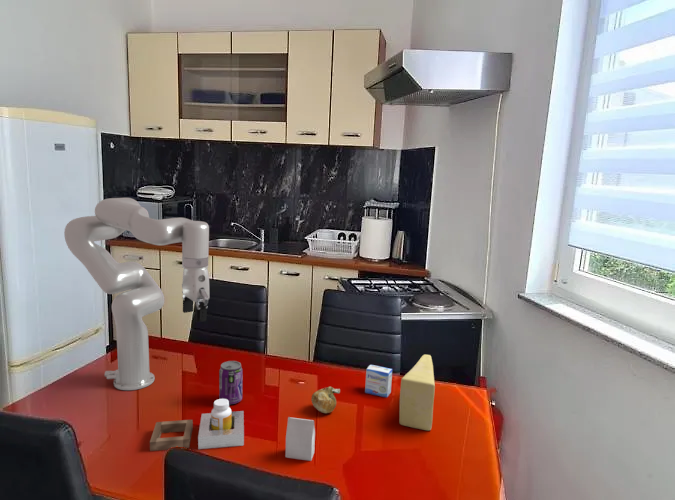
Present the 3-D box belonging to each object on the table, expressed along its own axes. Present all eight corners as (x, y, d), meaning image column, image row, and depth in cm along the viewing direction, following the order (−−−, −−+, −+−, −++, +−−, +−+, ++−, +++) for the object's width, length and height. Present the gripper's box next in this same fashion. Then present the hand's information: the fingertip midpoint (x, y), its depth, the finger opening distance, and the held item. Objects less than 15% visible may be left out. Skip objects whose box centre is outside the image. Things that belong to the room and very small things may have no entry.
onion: (321, 401, 147) (321, 378, 145) (341, 410, 142) (342, 385, 141) (305, 411, 140) (306, 386, 139) (326, 420, 136) (327, 395, 135)
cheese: (410, 392, 155) (413, 350, 153) (440, 397, 152) (443, 355, 150) (397, 425, 135) (400, 377, 132) (431, 432, 132) (434, 383, 129)
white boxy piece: (311, 461, 117) (312, 424, 115) (285, 457, 118) (286, 421, 116) (314, 452, 120) (315, 417, 119) (289, 448, 121) (290, 413, 120)
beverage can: (236, 407, 141) (236, 370, 139) (215, 404, 142) (215, 368, 140) (246, 396, 148) (246, 361, 146) (225, 394, 149) (225, 359, 147)
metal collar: (198, 449, 120) (198, 436, 119) (201, 425, 131) (201, 413, 130) (243, 445, 122) (243, 433, 121) (243, 422, 133) (243, 410, 133)
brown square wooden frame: (150, 451, 118) (149, 442, 118) (156, 430, 127) (156, 422, 127) (189, 447, 120) (188, 439, 120) (192, 427, 129) (192, 419, 129)
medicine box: (364, 393, 153) (365, 368, 152) (368, 387, 158) (370, 363, 156) (387, 398, 151) (388, 373, 149) (391, 392, 155) (392, 368, 153)
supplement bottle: (231, 428, 130) (231, 396, 128) (231, 439, 124) (231, 406, 123) (212, 429, 129) (211, 397, 127) (210, 441, 123) (210, 407, 122)
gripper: (219, 267, 134) (218, 323, 138) (195, 255, 147) (194, 307, 150) (195, 269, 130) (194, 327, 133) (172, 257, 142) (171, 310, 146)
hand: (194, 316), depth 142 cm, fingers open, 9 cm apart
